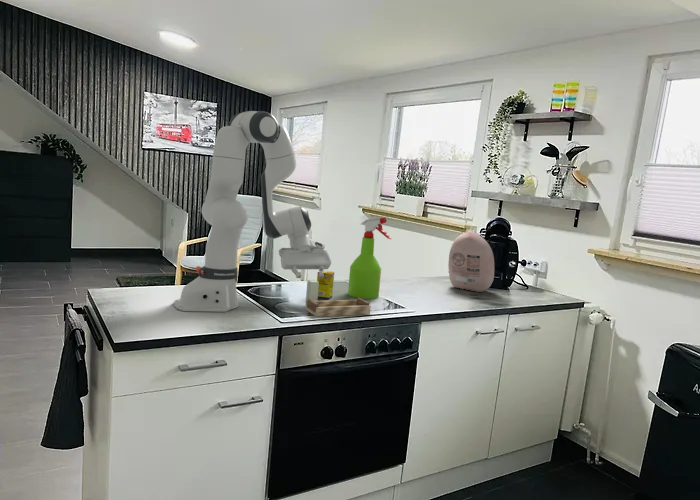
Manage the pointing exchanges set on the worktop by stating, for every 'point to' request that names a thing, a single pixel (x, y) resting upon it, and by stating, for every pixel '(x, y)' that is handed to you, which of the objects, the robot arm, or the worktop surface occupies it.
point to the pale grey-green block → (312, 290)
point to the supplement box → (325, 285)
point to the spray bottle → (367, 264)
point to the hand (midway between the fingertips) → (310, 277)
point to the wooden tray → (338, 307)
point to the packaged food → (471, 263)
